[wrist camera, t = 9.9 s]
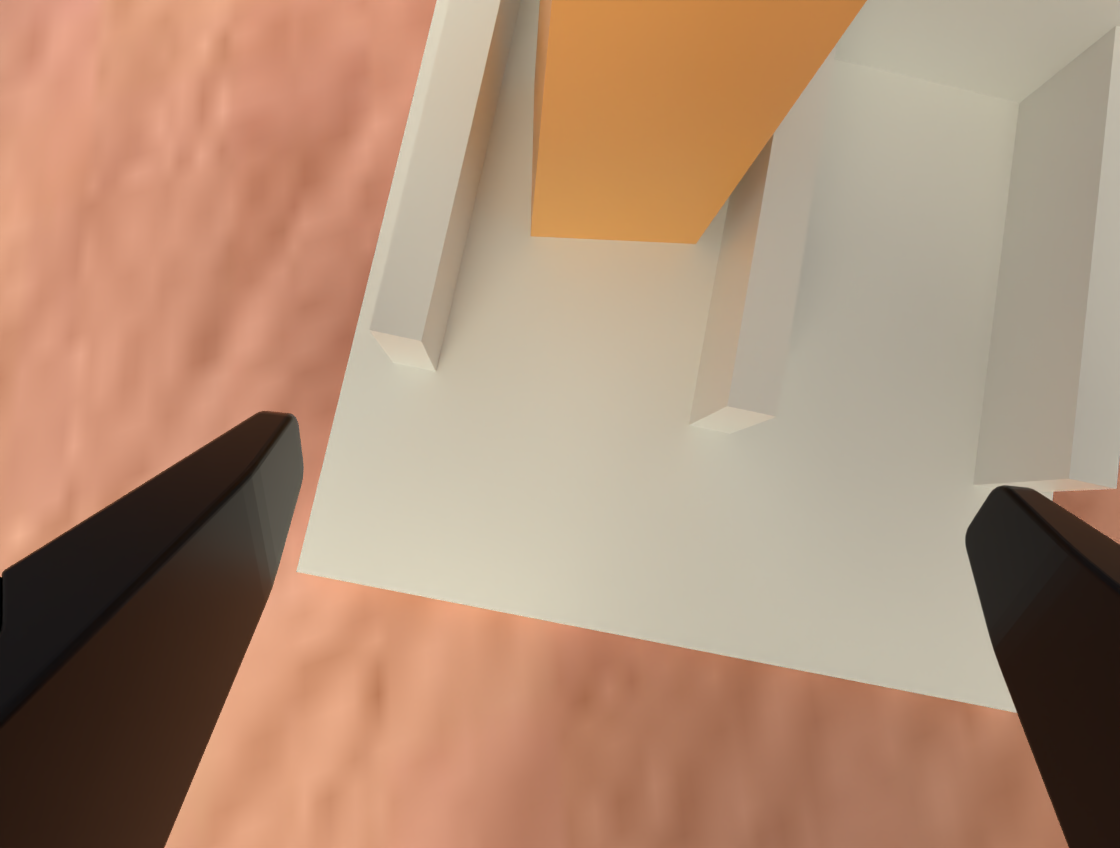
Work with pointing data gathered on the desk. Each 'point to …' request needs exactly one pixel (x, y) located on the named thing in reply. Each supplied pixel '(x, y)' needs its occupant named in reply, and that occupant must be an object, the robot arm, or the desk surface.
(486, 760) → the desk surface
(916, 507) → the white ribbed tray
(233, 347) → the desk surface
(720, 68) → the orange plug
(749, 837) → the desk surface
